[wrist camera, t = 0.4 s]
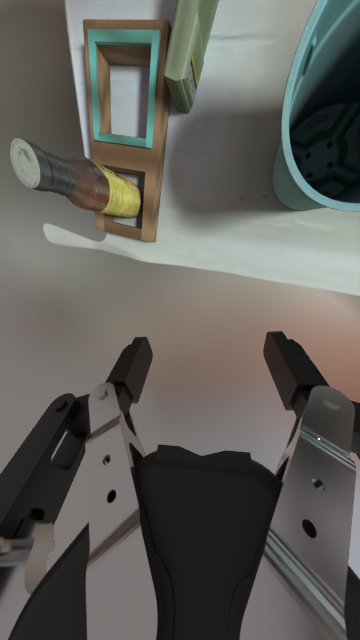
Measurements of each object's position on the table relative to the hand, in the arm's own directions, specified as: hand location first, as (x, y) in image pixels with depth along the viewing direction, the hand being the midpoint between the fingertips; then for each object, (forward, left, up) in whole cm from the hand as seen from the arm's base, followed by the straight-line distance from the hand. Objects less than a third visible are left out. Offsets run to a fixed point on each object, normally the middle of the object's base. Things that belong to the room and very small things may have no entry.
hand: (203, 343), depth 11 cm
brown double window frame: (-16, -23, -28) cm, 39 cm away
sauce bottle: (-9, -23, -28) cm, 37 cm away
